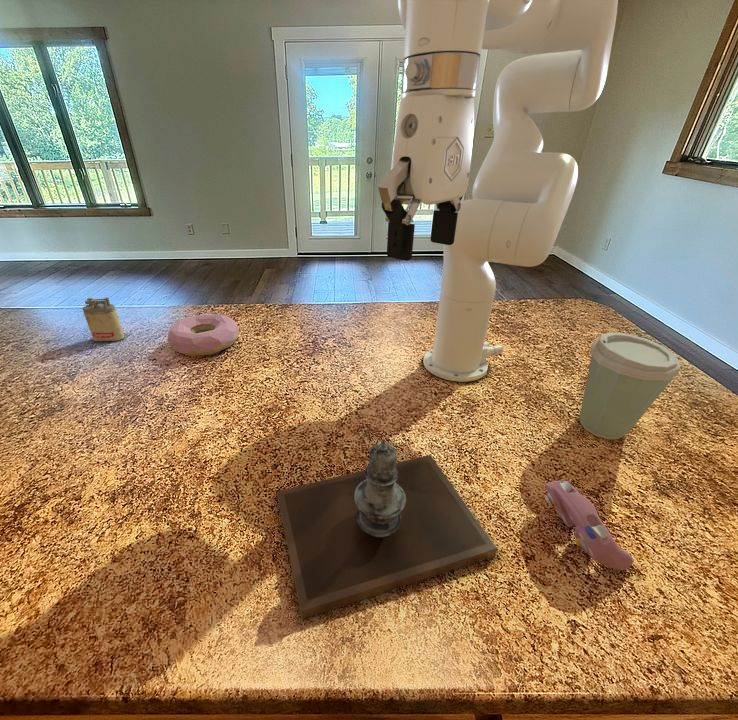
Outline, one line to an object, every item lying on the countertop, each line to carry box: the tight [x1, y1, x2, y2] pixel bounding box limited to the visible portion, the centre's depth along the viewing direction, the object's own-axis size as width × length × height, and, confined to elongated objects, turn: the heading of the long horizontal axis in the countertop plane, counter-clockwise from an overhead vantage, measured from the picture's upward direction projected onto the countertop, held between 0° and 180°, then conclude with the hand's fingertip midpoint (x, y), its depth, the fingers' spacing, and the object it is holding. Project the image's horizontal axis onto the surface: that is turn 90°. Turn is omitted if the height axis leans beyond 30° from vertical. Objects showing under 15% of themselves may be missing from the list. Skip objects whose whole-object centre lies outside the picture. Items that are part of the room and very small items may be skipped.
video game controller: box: [544, 480, 634, 571], centre depth 43 cm, size 10×5×7 cm, turn 5°
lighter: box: [82, 297, 126, 342], centre depth 88 cm, size 7×4×10 cm, turn 91°
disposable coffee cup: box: [578, 331, 681, 440], centre depth 57 cm, size 11×11×15 cm
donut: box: [166, 312, 239, 357], centre depth 86 cm, size 16×15×5 cm
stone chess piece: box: [354, 440, 406, 537], centre depth 42 cm, size 6×6×12 cm
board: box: [276, 454, 498, 620], centre depth 45 cm, size 22×15×2 cm
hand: (421, 250), depth 48 cm, fingers open, 9 cm apart
